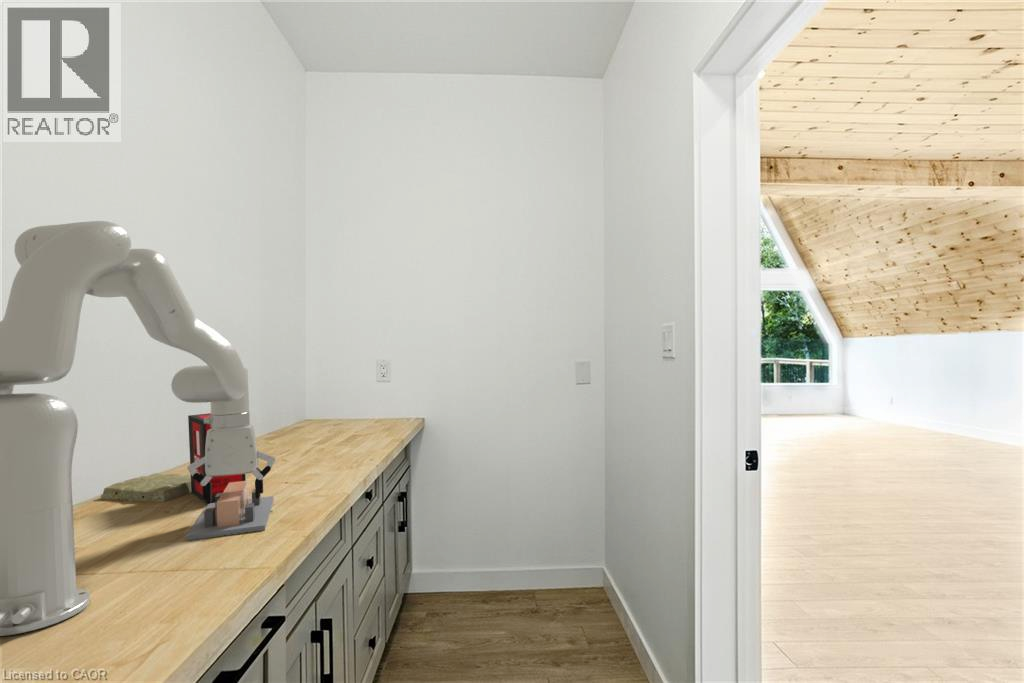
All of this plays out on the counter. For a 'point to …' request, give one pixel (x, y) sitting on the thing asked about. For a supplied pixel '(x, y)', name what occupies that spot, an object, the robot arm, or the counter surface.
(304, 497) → the counter surface
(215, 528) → the grey plate with pegs
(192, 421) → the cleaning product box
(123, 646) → the counter surface
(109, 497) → the decorative tile
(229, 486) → the clay strip
